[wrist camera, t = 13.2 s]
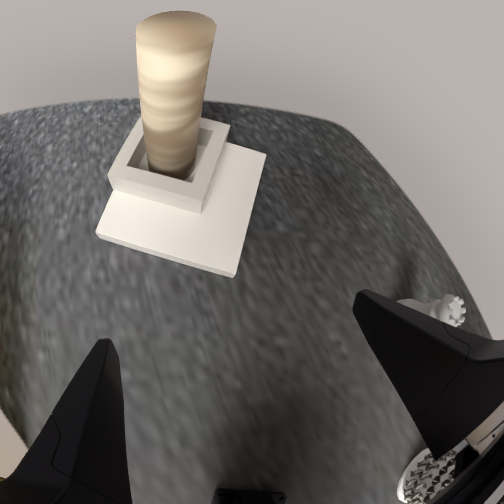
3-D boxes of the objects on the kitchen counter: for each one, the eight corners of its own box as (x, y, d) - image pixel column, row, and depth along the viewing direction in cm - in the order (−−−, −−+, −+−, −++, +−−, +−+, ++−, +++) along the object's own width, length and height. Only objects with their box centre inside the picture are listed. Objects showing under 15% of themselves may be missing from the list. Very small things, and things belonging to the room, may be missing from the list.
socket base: (232, 278, 24) (241, 266, 20) (100, 238, 22) (86, 220, 18) (262, 162, 28) (273, 138, 24) (150, 132, 26) (147, 105, 22)
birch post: (169, 192, 23) (168, 53, 10) (139, 163, 23) (121, 28, 10) (204, 164, 24) (232, 28, 11) (173, 137, 24) (182, 5, 11)
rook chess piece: (387, 295, 27) (444, 279, 19) (416, 303, 27) (471, 290, 20) (382, 339, 25) (442, 334, 18) (412, 343, 26) (469, 339, 18)
